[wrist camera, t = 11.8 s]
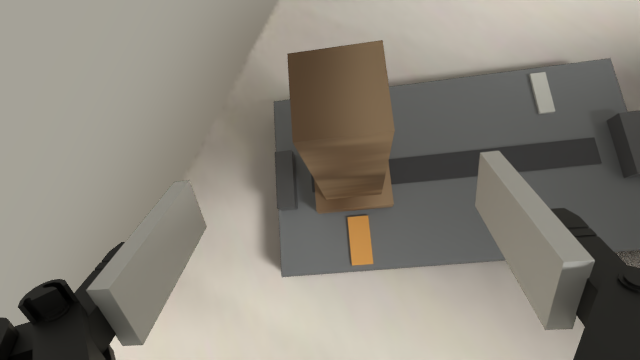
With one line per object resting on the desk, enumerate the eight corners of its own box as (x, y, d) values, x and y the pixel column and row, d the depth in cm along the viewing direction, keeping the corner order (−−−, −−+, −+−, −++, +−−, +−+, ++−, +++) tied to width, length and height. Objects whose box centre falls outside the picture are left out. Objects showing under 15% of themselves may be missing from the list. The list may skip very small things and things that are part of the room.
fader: (383, 137, 25) (399, 21, 13) (392, 206, 24) (418, 147, 12) (313, 145, 25) (269, 40, 14) (318, 213, 24) (274, 163, 12)
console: (592, 73, 26) (622, 47, 23) (645, 249, 23) (687, 246, 20) (279, 112, 29) (269, 94, 26) (288, 276, 26) (277, 277, 23)
